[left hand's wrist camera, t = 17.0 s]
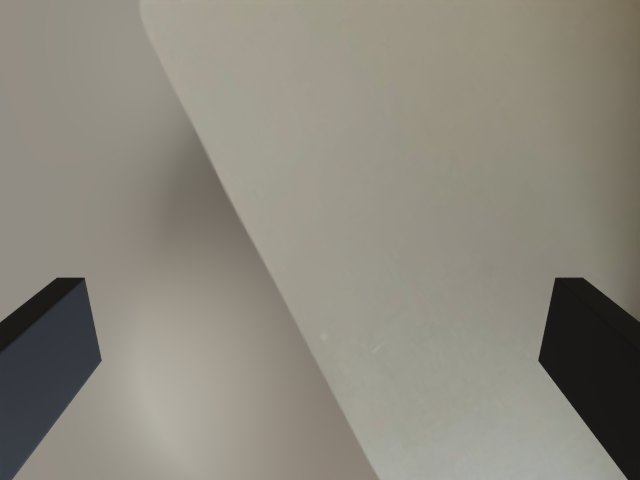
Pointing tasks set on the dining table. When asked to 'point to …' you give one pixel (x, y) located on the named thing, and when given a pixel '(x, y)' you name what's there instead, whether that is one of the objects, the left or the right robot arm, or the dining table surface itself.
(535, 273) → the dining table surface
